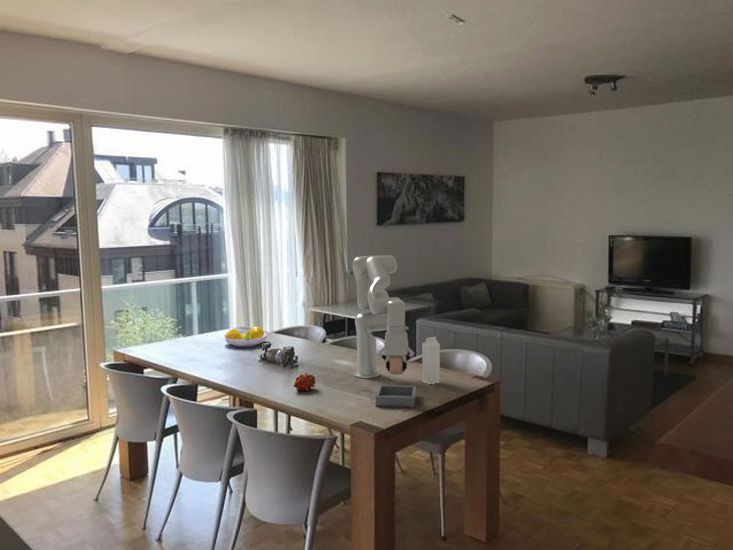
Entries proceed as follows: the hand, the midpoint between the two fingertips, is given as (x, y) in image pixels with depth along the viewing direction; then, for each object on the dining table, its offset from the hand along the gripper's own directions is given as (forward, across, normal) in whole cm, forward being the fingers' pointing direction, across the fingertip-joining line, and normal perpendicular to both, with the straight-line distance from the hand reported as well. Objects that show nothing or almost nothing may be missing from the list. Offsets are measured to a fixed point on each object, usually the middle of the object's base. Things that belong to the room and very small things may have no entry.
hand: (396, 370), depth 255 cm
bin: (+14, 0, 0) cm, 14 cm away
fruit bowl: (+13, +101, -95) cm, 139 cm away
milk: (+14, -14, -29) cm, 35 cm away
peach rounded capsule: (+1, 0, 0) cm, 1 cm away
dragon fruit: (+14, +43, -10) cm, 46 cm away
